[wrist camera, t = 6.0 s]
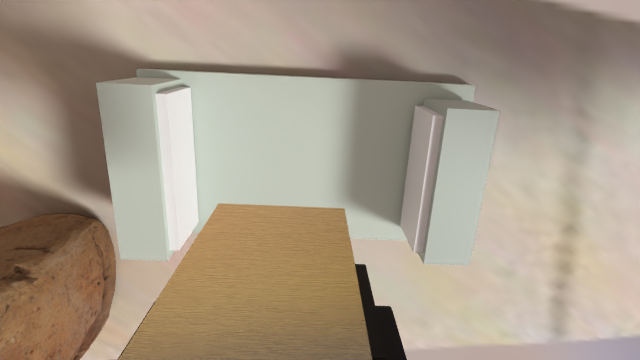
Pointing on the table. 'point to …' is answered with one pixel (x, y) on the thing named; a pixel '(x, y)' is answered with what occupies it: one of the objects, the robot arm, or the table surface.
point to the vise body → (255, 149)
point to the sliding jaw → (447, 178)
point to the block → (54, 286)
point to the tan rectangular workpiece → (260, 291)
